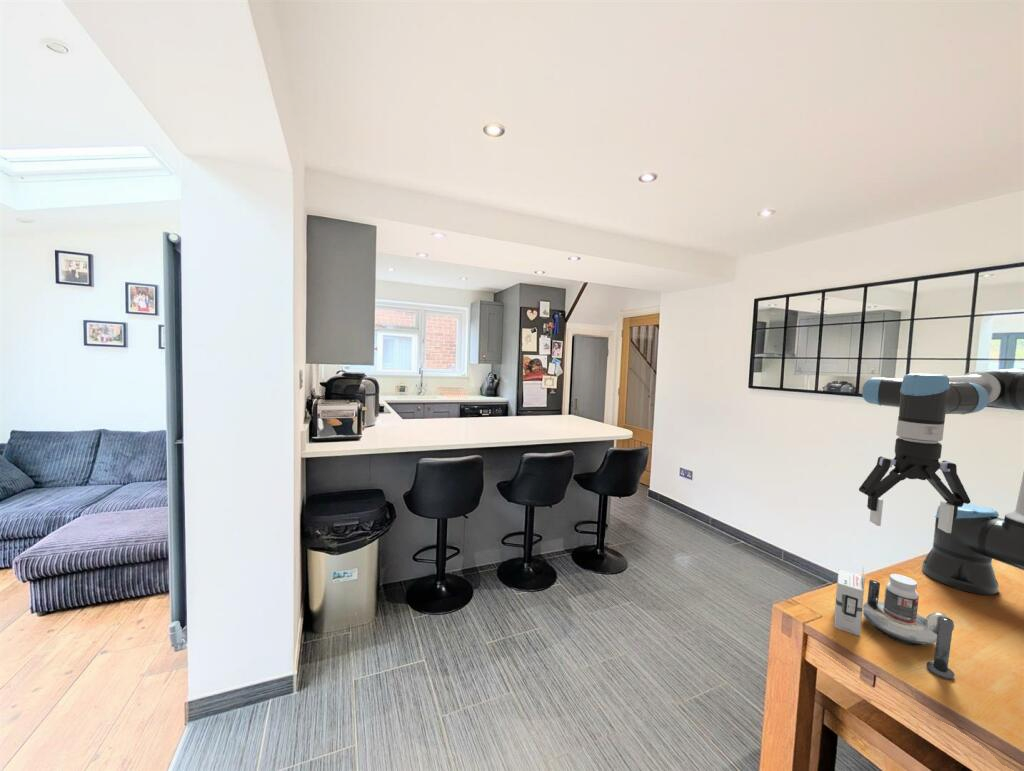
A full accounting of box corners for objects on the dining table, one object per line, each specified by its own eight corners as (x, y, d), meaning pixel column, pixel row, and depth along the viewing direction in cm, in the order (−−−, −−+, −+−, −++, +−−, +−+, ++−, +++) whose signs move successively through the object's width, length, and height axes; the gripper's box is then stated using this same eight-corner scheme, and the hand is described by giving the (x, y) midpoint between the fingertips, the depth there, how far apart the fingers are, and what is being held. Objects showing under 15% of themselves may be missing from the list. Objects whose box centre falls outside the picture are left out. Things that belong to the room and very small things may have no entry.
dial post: (960, 681, 81) (967, 626, 80) (935, 677, 82) (941, 623, 81) (944, 666, 85) (950, 614, 84) (920, 662, 86) (926, 610, 85)
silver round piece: (849, 605, 102) (851, 578, 101) (900, 607, 101) (903, 580, 101) (895, 642, 89) (899, 611, 88) (955, 645, 88) (959, 614, 88)
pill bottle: (920, 629, 91) (925, 589, 90) (888, 621, 94) (892, 582, 93) (909, 614, 96) (913, 576, 95) (879, 607, 99) (883, 570, 98)
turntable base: (897, 619, 100) (897, 612, 100) (935, 645, 91) (936, 638, 91) (862, 619, 100) (863, 612, 100) (897, 645, 91) (898, 638, 91)
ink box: (834, 610, 103) (839, 557, 102) (859, 618, 100) (864, 564, 98) (833, 627, 96) (838, 571, 95) (860, 637, 93) (866, 579, 92)
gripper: (865, 439, 90) (856, 527, 92) (1002, 447, 84) (989, 541, 86) (846, 433, 98) (838, 514, 100) (971, 439, 92) (960, 526, 93)
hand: (909, 527), depth 93 cm, fingers open, 13 cm apart
